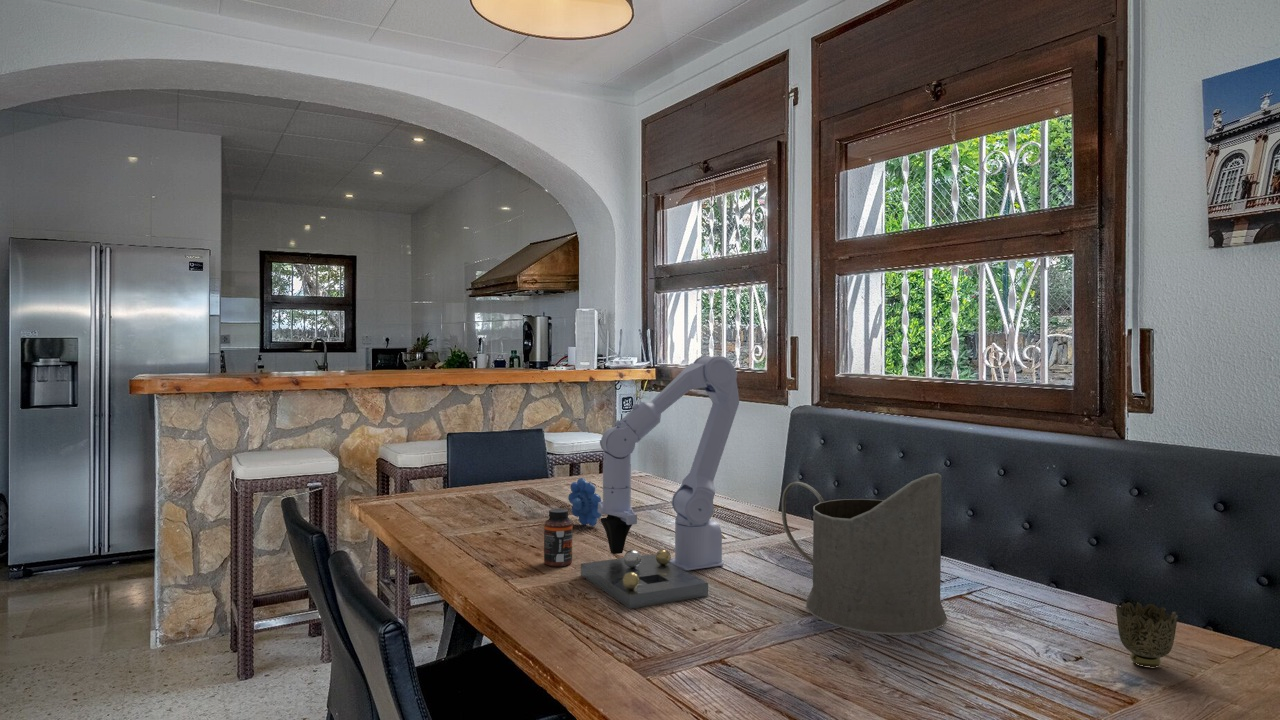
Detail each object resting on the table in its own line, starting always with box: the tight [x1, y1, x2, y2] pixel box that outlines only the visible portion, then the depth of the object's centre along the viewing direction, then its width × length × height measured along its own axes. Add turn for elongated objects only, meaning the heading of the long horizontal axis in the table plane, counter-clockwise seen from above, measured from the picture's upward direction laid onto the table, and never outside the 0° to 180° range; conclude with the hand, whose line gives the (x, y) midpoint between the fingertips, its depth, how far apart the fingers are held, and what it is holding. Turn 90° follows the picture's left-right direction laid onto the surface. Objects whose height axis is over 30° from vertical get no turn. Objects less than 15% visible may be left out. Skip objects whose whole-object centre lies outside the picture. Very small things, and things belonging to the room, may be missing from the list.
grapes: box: [567, 477, 603, 527], centre depth 195 cm, size 12×7×12 cm, turn 48°
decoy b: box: [623, 572, 639, 589], centre depth 135 cm, size 3×3×3 cm
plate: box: [580, 553, 709, 610], centre depth 145 cm, size 16×22×2 cm
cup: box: [1114, 601, 1179, 667], centre depth 109 cm, size 8×7×8 cm
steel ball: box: [623, 549, 642, 568], centre depth 149 cm, size 3×3×3 cm
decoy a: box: [655, 549, 672, 565], centre depth 151 cm, size 3×3×3 cm
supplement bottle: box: [543, 508, 574, 568], centre depth 160 cm, size 6×6×11 cm
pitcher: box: [781, 472, 948, 636], centre depth 135 cm, size 23×32×25 cm
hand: (616, 553), depth 155 cm, fingers closed
